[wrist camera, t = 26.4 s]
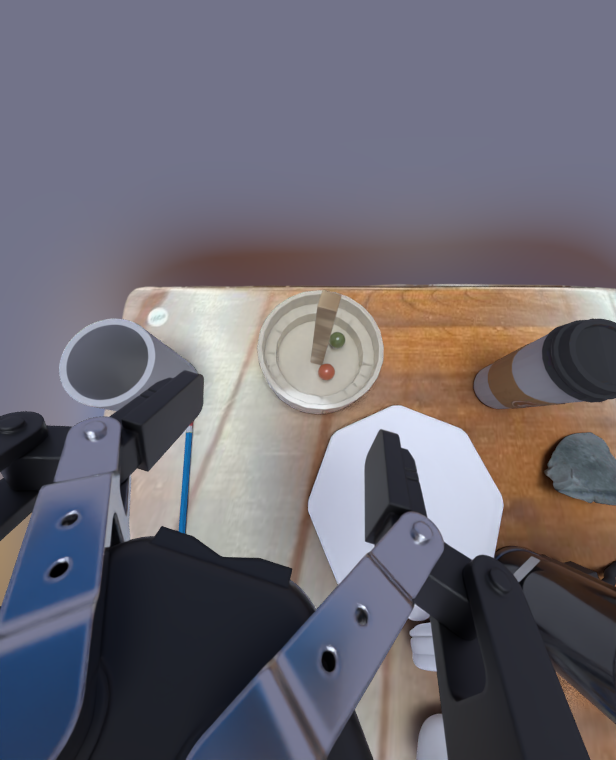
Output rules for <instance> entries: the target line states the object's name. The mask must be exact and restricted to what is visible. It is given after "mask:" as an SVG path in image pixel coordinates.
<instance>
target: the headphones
mask: <svg viewBox="0 0 616 760" xmlns="http://www.w3.org/2000/svg"><path fill="white" fill-rule="evenodd" d="M410 636H412V638H411V648H412V652H413V661H414V663H415V665H416V666H417V667H418V668H420V669H423V670H428V671H437V670H436V662H435V654H434V646H433V638H432V630H431V623H423V624H419V625H417V626H415V627H414V628H413V629H412V630H411V631H410ZM417 760H448V757H447V749H446V741H445V733H444V725H443V717H442V714H434V715H432V716H430V717H429V718H427V719H426V721H425V722H424V723H423V725H422V727H421V730H420V733H419V738H418V748H417Z"/></svg>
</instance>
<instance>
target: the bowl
mask: <svg viewBox="0 0 616 760" xmlns="http://www.w3.org/2000/svg"><path fill="white" fill-rule="evenodd" d="M321 293H322V291H321V290H317V291H309V292H303V293H300V294H297V295H295V296H292V297H289V298H288V299H286V300H285V301H283V302H282V303H281V304H279V305H278V306H276V307H275V309H274V310H273V311H272V312H271V313H270V314H269V315H268V317H267V318H266V320H265V322H264V324H263V326H262V328H261V330H260V334H259V340H258V346H257V349H258V358H259V364H260V366H261V369H262V371H263V374H264V376H265V378H266V380H267V382H268V384H269V386H270V387H271V389H272V390H273V391H274V393H275V394H276V395H277V396H278V398H279V399H281V400H282V401H283V402H285V403H286V404H287V405H289V406H290V407H292V408H295V409H297V410H300V411H302V412H305V413H313V414H325V413H332V412H336V411H339V410H341V409H343V408H346V407H348V406H350V405H351V404H352V403H353V402H354V401H356V400H357V399H358V398H359V397H361V396H362V395H363V394H364V393H365V392H367V391H368V390H369V389H370V387H371V386H372V384H373V383H374V381H375V380H376V379H377V377H378V375H379V372H380V369H381V366H382V363H383V349H384V346H383V342H382V337H381V333H380V330H379V328H378V326H377V324H376V323H375V321H374V319H373V317H372V316H371V315H370V314H369V313H368V312H367V311H366V310H365V308H364V307H363V306H361V305H360V304H358V303H357V302H355V301H354V300H352V299H351V298H349V297H347V296H344V295H342V296H341V300H340V304H339V307H338V311H337V314H336V318H335V322H334V325H333V329H332V332H331V334H332V333H334V332H341V333H342V334H343V335H344V336H345V340H346V341H345V344H344V346H343V347H341V348H338V349H336V348H333V347H332V346H331V345H330V343H328V347H327V350H326V354H325V357H324V361H323V364H325V363H328V364H331V365H332V366H333V367H334V369H335V375H334V377H333V378H332V379H330V380H322V379H321V378H320V377H319V375H318V369H319V367H320V366H321V365H318V364H314V363H311V362H310V361H311V353H312V345H313V337H314V328H315V320H316V312H317V305H318V302H319V299H320V296H321ZM334 293H336V292H334ZM337 294H339V293H337Z"/></svg>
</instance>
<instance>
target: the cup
mask: <svg viewBox="0 0 616 760" xmlns="http://www.w3.org/2000/svg"><path fill="white" fill-rule="evenodd" d="M184 370H187V371H190V372H194V373H197V371H196V369H195V368H194V367H193V366H192V365H191V364H190V363H189V362H188V361H186V360H185V359H184V358H182V357H181V356H180V355H178V354H177V353H176V352H174V351H173V350H172V349H170V348H169V347H168V346H166V345H165V344H164V343H162V342H161V341H160V340H158V339H157V338H156V337H154V336H153V335H152V334H150V333H149V332H148V331H146V330H145V329H144V328H142V327H141V326H140V325H138V324H136V323H134V322H131V321H129V320H124V319H106V320H102V321H98V322H95V323H93V324H91V325H89V326H87V327H85V328H84V329H82V330H81V331H80V332H78V333H77V334H76V335H75V336H74V337H73V338H72V339H71V340H70V342H69V343H68V344H67V346H66V347H65V350H64V352H63V354H62V357H61V360H60V366H59V374H60V380H61V383H62V385H63V387H64V389H65V391H66V392H67V393H68V394H69V395H70V396H71V397H72V398H73V399H74V400H76V401H77V402H79V403H82V404H85V405H88V406H91V407H97V408H102V409H108V410H113V411H118V410H119V409H121V408H122V407H124V406H125V405H126V404H128V403H129V402H130V401H132V400H133V399H134V398H136V397H137V396H140V394H141V393H143V392H144V391H145V390H148V388H149V387H151V386H152V385H154V384H155V383H156V382H158V381H161V380H164V379H166V378H169V377H170V378H174V377H176V376H177V375H178V374H179V373H181V372H182V371H184Z"/></svg>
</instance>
